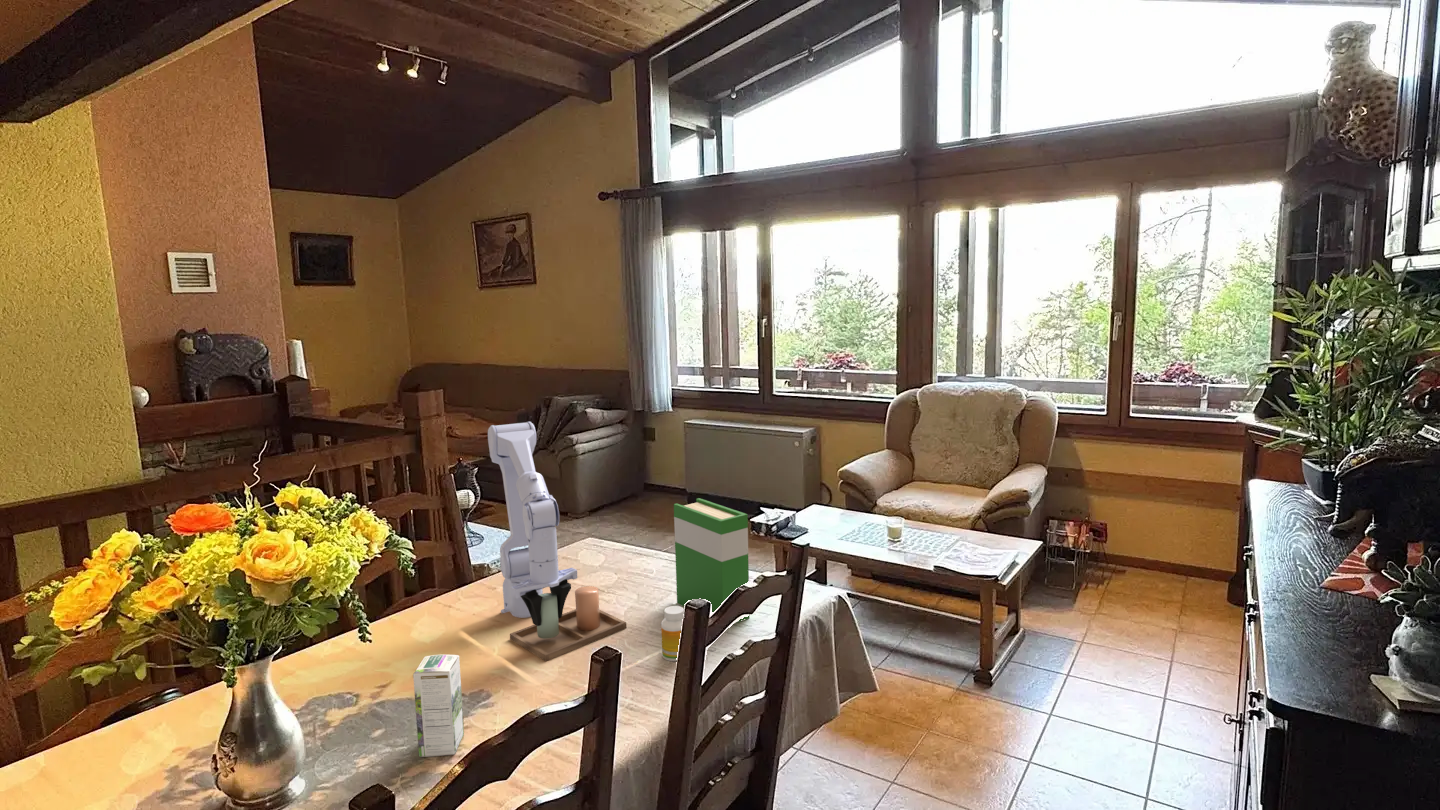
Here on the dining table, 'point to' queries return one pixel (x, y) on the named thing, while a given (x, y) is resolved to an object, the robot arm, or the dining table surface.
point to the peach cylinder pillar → (587, 608)
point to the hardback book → (710, 551)
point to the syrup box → (438, 705)
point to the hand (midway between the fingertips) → (547, 620)
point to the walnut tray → (566, 635)
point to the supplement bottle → (671, 631)
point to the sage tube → (548, 617)
